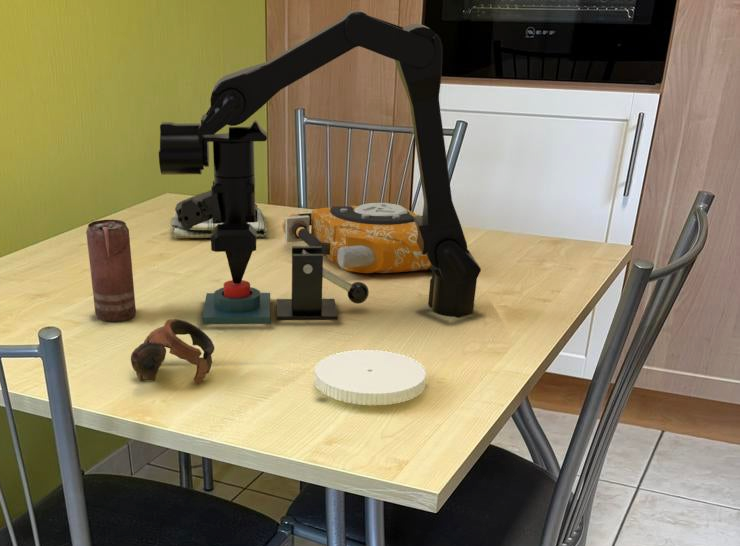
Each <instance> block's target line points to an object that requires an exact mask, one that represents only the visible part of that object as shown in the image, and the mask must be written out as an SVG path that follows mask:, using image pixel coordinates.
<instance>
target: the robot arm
mask: <svg viewBox="0 0 740 546" xmlns="http://www.w3.org/2000/svg"><path fill="white" fill-rule="evenodd" d="M357 47H359V48H362V49H363V48H364V49H366V50H368V51H370V52H373V53H375V54H378V55H381V56H384V57H386V58H388V59H392V60H394V62H395V65H396V68H397V71H398V74H399V77H400V79H401V83H402V85H403V88H404V91H405V94H406V96H407V99H408V102H409V107H410V115H411V122H412V128H413V134H414V142H415V149H416V155H417V162H418V169H419V177H420V184H421V190H422V198H423V208H422V215H421V216H414V217H413V218H414V221H415V224H416V227H417V230H418V237H417V244H418V246H419V248H420V250H421V252H422V254H423V255H425V254H426V255H427V257H428V259H429V261H430V263H431V264H432V265H433V266H434V267H436V268H438V269H437V270H433V271H432V272H431V279H430V280H429V289H428V292H429V293H428V302H427V305H428V306H429V308H431V311H432V312H433V313H435V314H437V315H439V316H444V317H453V318H457V319H459V318H463V317H466V316H469V315H473V314H474V308H475V299H476V291H477V283H478V278H479V275H480V274H481V271H482V268H481V267H480V265H479V263H478V262H477V260H476V259H475V257H474V256H473V254H472V253H471V251H470V250H469V249H468V243H467V240H466V238H465V234H464V230H463V227H462V224H461V221H460V219H459V216H458V213H457V211H456V207H455V206H454V202H453V198H452V197H453V196H452V190H451V189H452V188H451V183H450V174H449V166H448V160H447V159H448V158H447V150H446V143H445V136H444V127H443V120H442V113H441V105H440V93H441V83H442V75H443V53H444V52H443V51H444V50H443V44H442V39H441V38H440V36H439V35H438V33H437V32H435V31H434V30H432V29H431V28H430V27H428V26H426V25H424V24H421V23H410V24H408V25H406V26H404V27H403V26H400V25H397V24H395V23H392V22H389V21H386V20H383V19H380V18H377V17H374V16H371V15H368V14H367V13H366V12H365V11H363V10H359V9H352V10H350V11H348V12H347V13H346V14H345V15H344V16H342V17H341V18H340V19H338V20H336V21H335V22H333V23H332V24H330V25H328V26H326V27H324V28H323V29H321V30H319V31H318V32H316V33H314V34H312V35H311V36H309V37H308V38H305V39H304V40H302V41H300V42H298V43H297V44H295V45H294V46H292V47H290V48H288V49H287V50H285V51H283V52H282V53H280V54H278V55H277V56H274V57H273V58H271V59H269V60H268V61H265V62H262V63H259V64H256V65H252V66H249V67H245V68H242V69H239V70H237V71H233V72H231V73H228V74H226V75H224V76H222V77H221V78H219V79H218V80H217V82H216V83H215V85H214V87H213V89H212V92H211V96H210V107H209V108H208V110H207V112H206V113H205V114H202V115H201V118H200V123H198V122H197V123H196V122H195V123H187V122H186V123H184V122H183V123H176V122H173V121H162V122H161V123H160V125H159V132H160V133H159V134H160V135H159V150H158V164H159V171H160V175H162V176H180V175H181V176H182V175H187V176H189V175H196V176H197V175H202V173H203V172H202V171H204V169H205V168H209V167H210V143H212V153H213V180H212V185H211V190H208V191H205V192H201V193H199V194H196V195H193V196H191V197H189V198H186V199H182V200H180V201H179V202H177V204H176V205H175V208H174V211H175V213H177V216H178V221H179V222H180V223H181V225H182V228H183V230H188V229H191V228H192V227H193V226H195V225H197V224H200V223H203V222H205V221H208V220H210V219H212V222H213V224H218V225H217V226H216V227H215V228H214V229H213V230H212V234H211V238H210V250H211V252H215V253H218V252H219V253H221V252H222V253H225V255H226V259H227V264H228V267H229V272H230V275H231V280H233V283H235V284H239V283H241V281H242V280H243V277H244V275H245V273H246V270H247V267H248V264H249V262H250V260H251V257H252V254H253V252H254V251H257V237H256V235H257V230H255V229H254V228H253V227H252V226H251V225H250V224H248V222H257V221H258V208H259V207H258V204H257V203H256V191H255V190H256V177H255V142H266V141H267V140H268V133H267V131H266V130H264V129H263V128H262V127H261V126H260V124H259V122H258V120H256V119H254V120H253V121H252V122H251V124H250V125H249V126H240V125H241V124H243V123H244V122H246V121H247V120H249V119H250V118H251V117H252V116H253V115H254V114H255V113H257V112H258V111H259V110H260V109H261V108H262V107H264V106H265V105H266V104H267V103H268V102H269V101H270V100H271V99H273V97H274V96H275V95H277V94H278V93H279V92H280V91H282V90H283V89H285V88H286V87H288V86H290V85H293V84H294V83H295V82H297V81H299V80H301V79H302V78H304V77H306V76H308V75H309V74H311V73H313V72H315V71H316V70H318V69H320V68H321V67H323V66H325V65H327V64H329V63H331V62H332V61H334V60H336V59H337V58H339V57H341V56H343V55H345V54H346V53H348V52H349V51H351V50H353V49H355V48H357ZM238 125H239V126H238ZM226 126H229V127H228V132H225V133H218V132H220V131H221V130H222V129H223V128H225V127H226ZM220 223H222V224H220Z"/></svg>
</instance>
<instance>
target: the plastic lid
mask: <svg viewBox="0 0 740 546" xmlns="http://www.w3.org/2000/svg"><path fill="white" fill-rule="evenodd" d="M313 375H314V376H313V377H314V378H313V381H314V382H313V383H314V386H315V388H317V390H318V391H319V392H321V394H324V395H325V396H327V397H328V398H331V399H334V400H336V401H339V402H343V403H348V404H353V405H359V406H361V405H363V406H382V405H383V406H387V405H392V404H393V405H396V404H400V403H405V402H406V401H409V400H412V399H415V398H416V397H418V396H420V395H421V394H422V393H423V392H424V390H425V389H426V384H427V383H426V381H427V370H426V368H425V366H424V365H423V364H422V363H421V362H419V361H417V360H416V359H414V358H413V357H410V356H407V355H406V354H405V355H403V354H402V353H398V352H394V351H386V350H380V349H378V350H377V349H354V350H353V349H352V350H345V351H341V352H337V353H333V354H330V355H326V356H325V357H324V358H322V359H321V360H319V361H318V362H317V363H316V364H315V367H314V374H313Z"/></svg>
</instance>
